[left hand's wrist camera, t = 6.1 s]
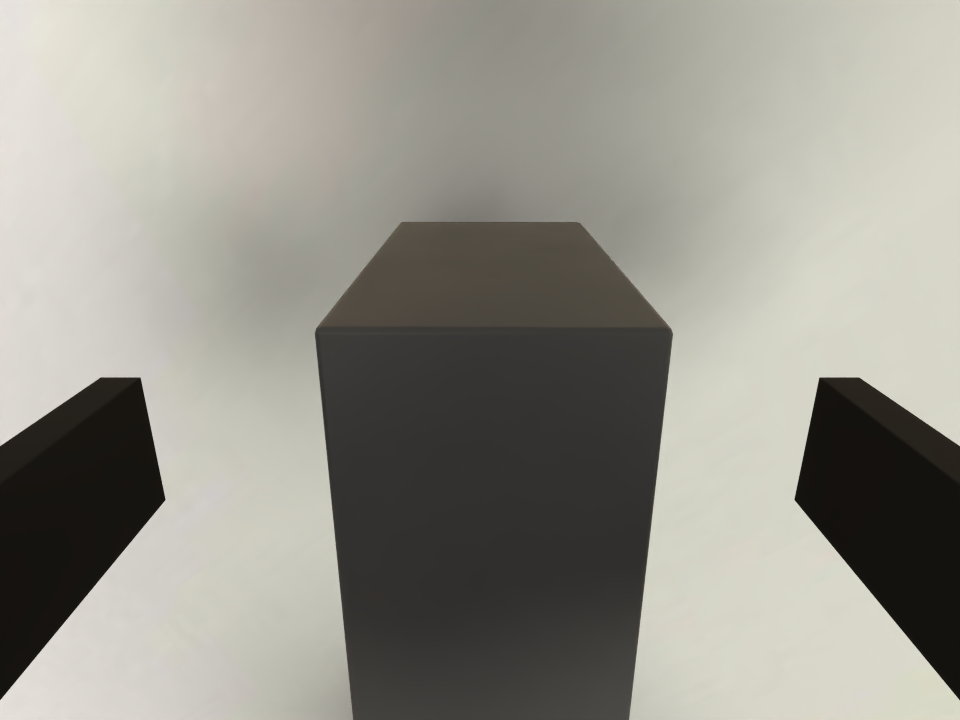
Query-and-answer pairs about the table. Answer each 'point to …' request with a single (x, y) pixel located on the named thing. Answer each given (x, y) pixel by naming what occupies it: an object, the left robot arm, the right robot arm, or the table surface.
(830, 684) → the table surface
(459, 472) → the bar
